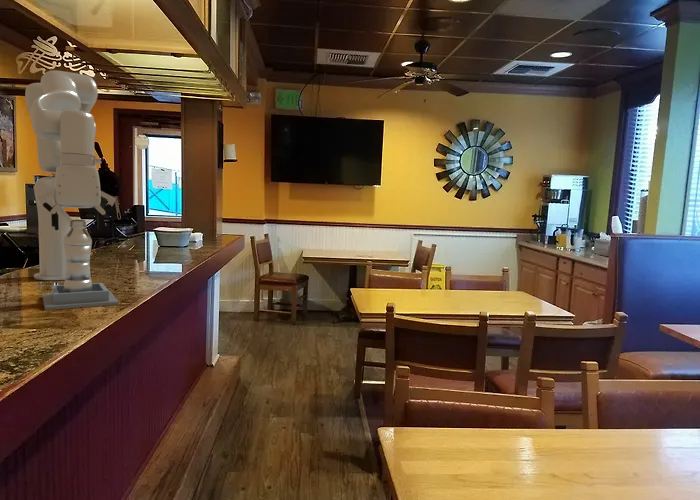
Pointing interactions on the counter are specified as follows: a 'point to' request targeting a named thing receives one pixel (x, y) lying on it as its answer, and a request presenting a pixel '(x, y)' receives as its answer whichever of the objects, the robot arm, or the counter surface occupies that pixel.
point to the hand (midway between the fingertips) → (78, 229)
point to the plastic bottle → (77, 258)
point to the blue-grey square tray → (79, 298)
